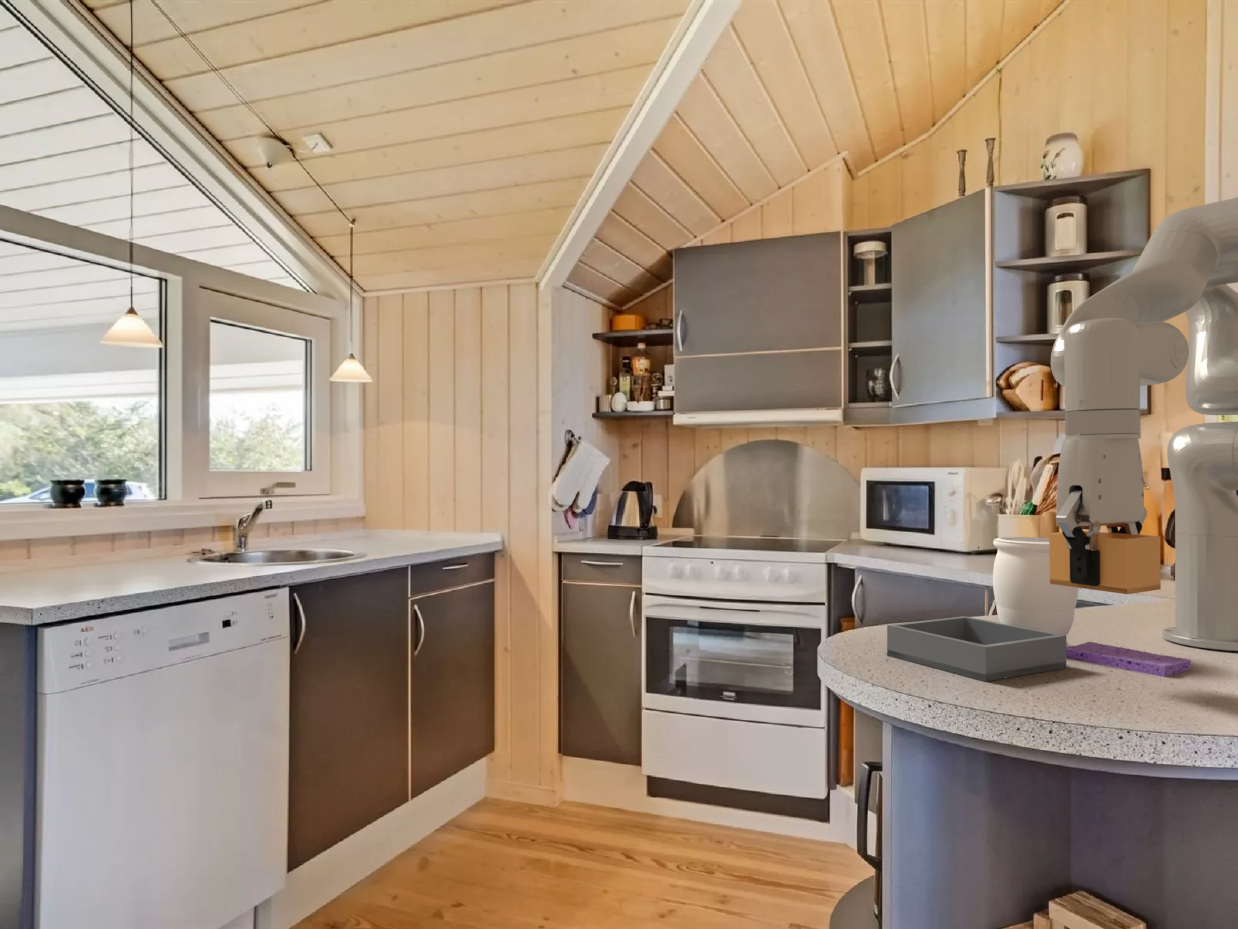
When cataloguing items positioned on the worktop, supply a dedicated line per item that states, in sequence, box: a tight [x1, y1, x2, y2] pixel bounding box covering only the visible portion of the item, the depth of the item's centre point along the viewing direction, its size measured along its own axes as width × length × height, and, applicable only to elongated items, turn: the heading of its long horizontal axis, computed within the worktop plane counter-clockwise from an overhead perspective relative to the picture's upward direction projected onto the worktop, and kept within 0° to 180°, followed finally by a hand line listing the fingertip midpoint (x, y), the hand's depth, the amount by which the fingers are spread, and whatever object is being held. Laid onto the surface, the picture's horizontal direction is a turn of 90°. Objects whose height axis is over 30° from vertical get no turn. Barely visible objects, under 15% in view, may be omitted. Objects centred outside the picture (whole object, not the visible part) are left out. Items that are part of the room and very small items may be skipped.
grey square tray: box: [886, 615, 1067, 682], centre depth 104 cm, size 15×15×4 cm
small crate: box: [1048, 530, 1162, 595], centre depth 94 cm, size 6×9×6 cm
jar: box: [992, 536, 1079, 647], centre depth 112 cm, size 11×10×15 cm
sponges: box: [1066, 641, 1192, 678], centre depth 104 cm, size 7×13×2 cm, turn 32°
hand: (1103, 580), depth 94 cm, fingers closed on small crate, 6 cm apart
